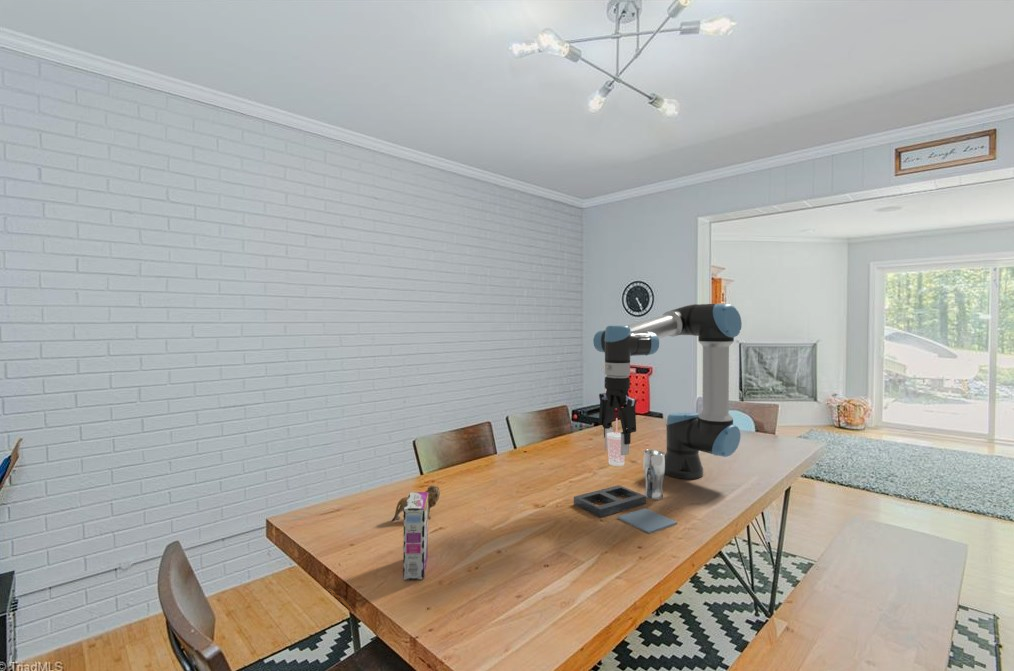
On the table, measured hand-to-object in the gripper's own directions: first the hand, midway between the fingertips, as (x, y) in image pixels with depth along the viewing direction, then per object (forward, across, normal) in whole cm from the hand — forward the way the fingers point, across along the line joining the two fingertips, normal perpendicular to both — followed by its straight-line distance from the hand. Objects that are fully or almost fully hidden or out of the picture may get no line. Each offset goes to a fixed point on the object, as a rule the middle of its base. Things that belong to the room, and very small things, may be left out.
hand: (616, 451), depth 145 cm
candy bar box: (+19, 0, -64) cm, 67 cm away
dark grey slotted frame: (+19, -6, +3) cm, 20 cm away
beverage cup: (+4, 0, 0) cm, 4 cm away
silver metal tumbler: (+19, -3, +20) cm, 28 cm away
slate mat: (+19, +9, +3) cm, 21 cm away
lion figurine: (+19, -27, -54) cm, 63 cm away
